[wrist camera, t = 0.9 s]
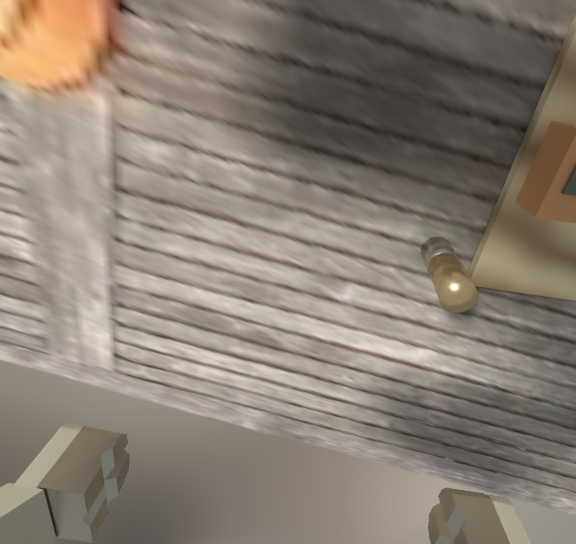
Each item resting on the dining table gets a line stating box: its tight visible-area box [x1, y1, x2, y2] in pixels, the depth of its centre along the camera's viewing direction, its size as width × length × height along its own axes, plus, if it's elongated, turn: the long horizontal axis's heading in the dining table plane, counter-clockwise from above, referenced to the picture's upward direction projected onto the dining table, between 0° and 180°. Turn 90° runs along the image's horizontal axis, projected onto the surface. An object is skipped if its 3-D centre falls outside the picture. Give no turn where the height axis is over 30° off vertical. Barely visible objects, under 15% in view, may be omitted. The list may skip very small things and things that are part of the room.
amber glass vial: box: [421, 237, 479, 313], centre depth 34 cm, size 3×3×9 cm
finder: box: [515, 121, 576, 223], centre depth 29 cm, size 7×5×4 cm
